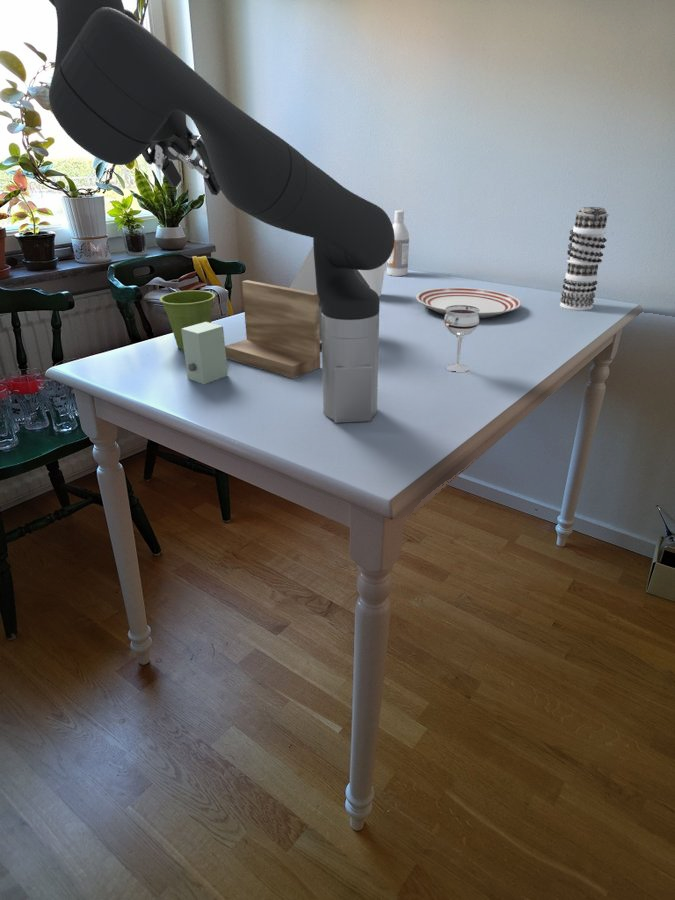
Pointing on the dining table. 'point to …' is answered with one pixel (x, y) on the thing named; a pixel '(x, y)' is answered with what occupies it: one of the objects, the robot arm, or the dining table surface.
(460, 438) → the dining table surface
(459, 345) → the wineglass
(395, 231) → the bath foam
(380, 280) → the cup
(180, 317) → the plant pot
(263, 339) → the wooden stand
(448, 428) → the dining table surface
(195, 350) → the cabinet
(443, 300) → the dinner plate
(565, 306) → the grey white tall cylinder
